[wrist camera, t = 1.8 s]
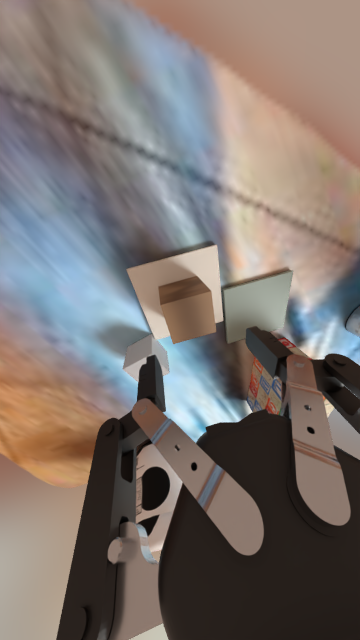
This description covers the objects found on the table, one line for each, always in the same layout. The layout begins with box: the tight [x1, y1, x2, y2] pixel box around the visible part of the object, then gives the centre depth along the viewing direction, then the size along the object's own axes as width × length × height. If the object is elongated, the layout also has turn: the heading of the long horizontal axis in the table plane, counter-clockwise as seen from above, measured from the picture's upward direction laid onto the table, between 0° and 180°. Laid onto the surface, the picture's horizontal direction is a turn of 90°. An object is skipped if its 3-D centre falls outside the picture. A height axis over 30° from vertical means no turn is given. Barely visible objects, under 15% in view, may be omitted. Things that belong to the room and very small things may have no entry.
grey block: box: [123, 334, 169, 382], centre depth 25 cm, size 5×5×5 cm
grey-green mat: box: [223, 270, 293, 343], centre depth 26 cm, size 11×11×1 cm
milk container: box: [136, 442, 183, 552], centre depth 41 cm, size 17×17×18 cm
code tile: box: [127, 245, 223, 340], centre depth 23 cm, size 12×12×1 cm
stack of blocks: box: [247, 338, 334, 417], centre depth 32 cm, size 21×6×12 cm, turn 7°
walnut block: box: [158, 276, 216, 344], centre depth 20 cm, size 6×6×6 cm
